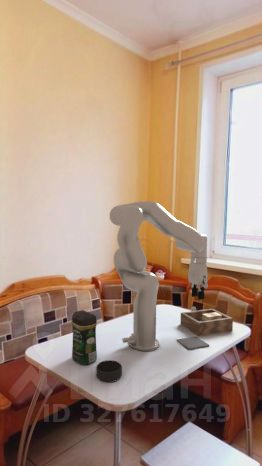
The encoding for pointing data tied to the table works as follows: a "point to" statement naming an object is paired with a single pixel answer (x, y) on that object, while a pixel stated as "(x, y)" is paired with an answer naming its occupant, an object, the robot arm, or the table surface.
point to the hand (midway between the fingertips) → (197, 297)
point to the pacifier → (193, 308)
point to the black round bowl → (109, 371)
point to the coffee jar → (84, 337)
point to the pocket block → (206, 322)
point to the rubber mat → (192, 342)
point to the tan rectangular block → (211, 316)
